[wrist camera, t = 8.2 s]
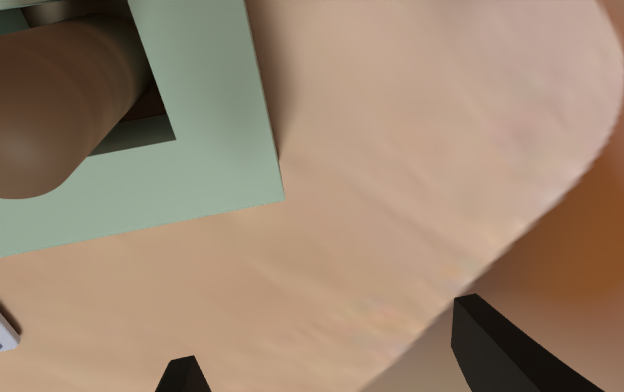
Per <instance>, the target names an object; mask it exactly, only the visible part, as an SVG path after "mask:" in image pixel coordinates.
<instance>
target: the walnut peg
mask: <svg viewBox="0 0 624 392" xmlns="http://www.w3.org/2000/svg"><path fill="white" fill-rule="evenodd" d="M153 80H154V75H153V72H152V69H151V66H150V63H149V60H148V58H147V55H146V52H145V49H144V46H143V43H142V41H141V38H140V35H139V32H138V29H137V27H136V26H135V25H134V24H132V23H131V22H129V21H128V20H126V19H124V18H122V17H119V16H117V15H113V14H109V13H94V14H89V15H85V16H81V17H76V18H72V19H68V20H64V21H60V22H55V23H51V24H47V25H43V26H38V27H34V28H30V29H26V30H21V31H17V32H13V33H9V34H5V35H0V198H2V199H28V198H33V197H38V196H41V195H44V194H46V193H48V192H51V191H53V190H54V189H56V188H57V187H59V186H60V185H61V184H62V183H63V182H64V181H66V180H67V178H68V177H69V176H70V175H71V174H72V173H73V172H74V171H75V170H76V168H77V167H78V166H79V165H80V164H81V163H82V162H83V161H84V160H85V158H86V157H87V156H88V155H89V154H90V153H91V152H92V151H93V150H94V148H95V147H96V146H97V145H98V144H99V143H100V142H101V141H102V139H103V138H104V137H105V136H106V135H107V134H108V133H109V132H110V131H111V129H112V128H113V127H114V126H115V125H116V124H117V123H118V122H119V121H120V119H121V118H122V117H123V116H124V115H125V114H126V113H127V112H128V111H129V109H130V108H131V107H132V106H133V105H134V104H135V103H136V102H137V101H138V99H139V98H140V97H141V96H142V95H143V94H144V93H145V92H146V91H147V89H148V88H149V87H150V86H151V84H152V82H153Z"/></svg>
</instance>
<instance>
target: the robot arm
mask: <svg viewBox="0 0 624 392" xmlns="http://www.w3.org/2000/svg"><path fill="white" fill-rule="evenodd" d="M452 324H453V325H452V338H451V348H452V350H453V352H454V355H455V357H456V359H457V361H458V364H459V366H460V368H461V370H462V373H463V375H464V377H465V379H466V381H467V383H468V385H469V387H470V389H471V391H472V392H605V391H603V390H602V389H600V388H598V387H597V386H596V385H594V384H593V383H591V382H590V381H589V380H587V379H586V378H584V377H583V376H581V375H580V374H579V373H577V372H576V371H574V370H573V369H572V368H570V367H569V366H567V365H566V364H565V363H563V362H562V361H561V360H559V359H558V358H557V357H555V356H554V355H553V354H551V353H550V352H549V351H547V350H546V349H545V348H543V347H542V346H541V345H540V344H538V343H537V342H536V341H534V340H533V339H532V338H530V337H529V336H528V335H527V334H525V333H524V332H523V331H522V330H520V329H519V328H518V327H516V326H515V325H514V324H513V323H511V322H510V321H509V320H508V319H507V318H505V317H504V316H503V315H502V314H500V313H499V312H498V311H497V310H496V309H494V308H493V307H492V306H491V305H490V304H488V303H487V302H486V301H485V300H484V299H482V298H481V297H480V296H479V295H477V294H476V293H475V294H471V295H466V296H461V297H457V298H454V309H453V323H452ZM20 341H21V338H20V336H19V335H18V334H17V333H16V331H15V330H14V329H13V328H12V326H11V325H10V324H9V323H8V322H7V320H6V319H5V318H4V317H3V316H2V314H1V313H0V352H1V351H6V350H10V349H14V348H16V347H17V346H18V344H19V343H20ZM155 392H211V390H210V388H209V385H208V383H207V381H206V379H205V377H204V375H203V373H202V371H201V369H200V367H199V365H198V363H197V360H196V358H195V356H194V355H193V356H188V357H183V358H179V359H174V360H171V361H170V362H169V364H168V366H167V368H166V370H165V372H164V374H163V376H162V378H161V380H160V382H159V384H158V386H157V388H156V390H155Z"/></svg>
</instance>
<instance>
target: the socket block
mask: <svg viewBox="0 0 624 392" xmlns="http://www.w3.org/2000/svg"><path fill="white" fill-rule="evenodd" d="M57 1H63V0H0V35H5V34H9V33H13V32H17V31H21V30H26V29H30V27H29V25H28V23H27V21H26V19H25V17H24V15H23V13H22V11H21V9H20V8H21V7H27V6H33V5H39V4H45V3H51V2H57ZM127 1H128V4H129V7H130V10H131V12H132V15H133V18H134V21H135V24H136V27H137V29H138V32H139V35H140V38H141V41H142V43H143V46H144V49H145V52H146V55H147V58H148V60H149V63H150V66H151V69H152V72H153V75H154V77H155V80H156V83H157V86H158V89H159V92H160V94H161V97H162V100H163V103H164V106H165V109H166V111H167V114H163V115H157V116H152V117H147V118H141V119H136V120H130V121H125V122H120V123H117V124H116V125H115V126H114V127H113V128H112V129H111V131H110V132H109V133H108V134H107V135H106V136H105V137H104V138H103V139H102V141H101V142H100V143H99V144H98V145H97V146H96V147H95V148H94V150H93V151H92V152H91V153H90V154H89V155H88V156H87V157H86V158H85V160H84V161H83V162H82V163H81V164H80V165H79V166H78V167H77V168H76V170H75V171H74V172H73V173H72V174H71V175H70V176H69V177H68V178H67V180H66V181H64V182H63V183H62V184H61V185H60V186H59V187H57V188H56V189H54V190H53V191H51V192H48V193H46V194H44V195H41V196H38V197H33V198H28V199H2V198H0V257H5V256H10V255H15V254H20V253H25V252H30V251H35V250H40V249H45V248H50V247H55V246H60V245H65V244H70V243H75V242H80V241H85V240H90V239H95V238H100V237H105V236H110V235H115V234H120V233H125V232H130V231H135V230H140V229H145V228H150V227H155V226H160V225H165V224H170V223H175V222H180V221H185V220H190V219H195V218H200V217H205V216H210V215H215V214H220V213H225V212H230V211H234V210H239V209H244V208H249V207H254V206H259V205H264V204H269V203H274V202H279V201H284V200H285V195H284V189H283V183H282V177H281V171H280V165H279V160H278V155H277V150H276V146H275V141H274V136H273V131H272V127H271V122H270V117H269V112H268V108H267V103H266V98H265V93H264V89H263V84H262V79H261V74H260V69H259V65H258V60H257V55H256V50H255V46H254V41H253V36H252V31H251V27H250V22H249V17H248V12H247V8H246V3H245V0H127Z"/></svg>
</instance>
